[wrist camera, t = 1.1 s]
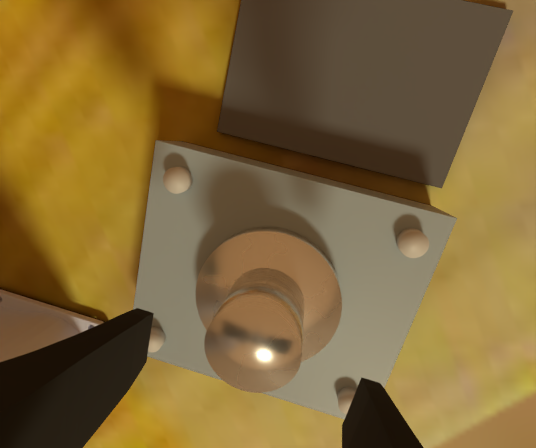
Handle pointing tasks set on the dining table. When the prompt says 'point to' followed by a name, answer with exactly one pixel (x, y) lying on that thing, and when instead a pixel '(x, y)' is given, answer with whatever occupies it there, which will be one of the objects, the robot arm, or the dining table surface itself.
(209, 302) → the end cap
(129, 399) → the dining table surface
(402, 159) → the mat
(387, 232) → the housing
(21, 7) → the dining table surface
